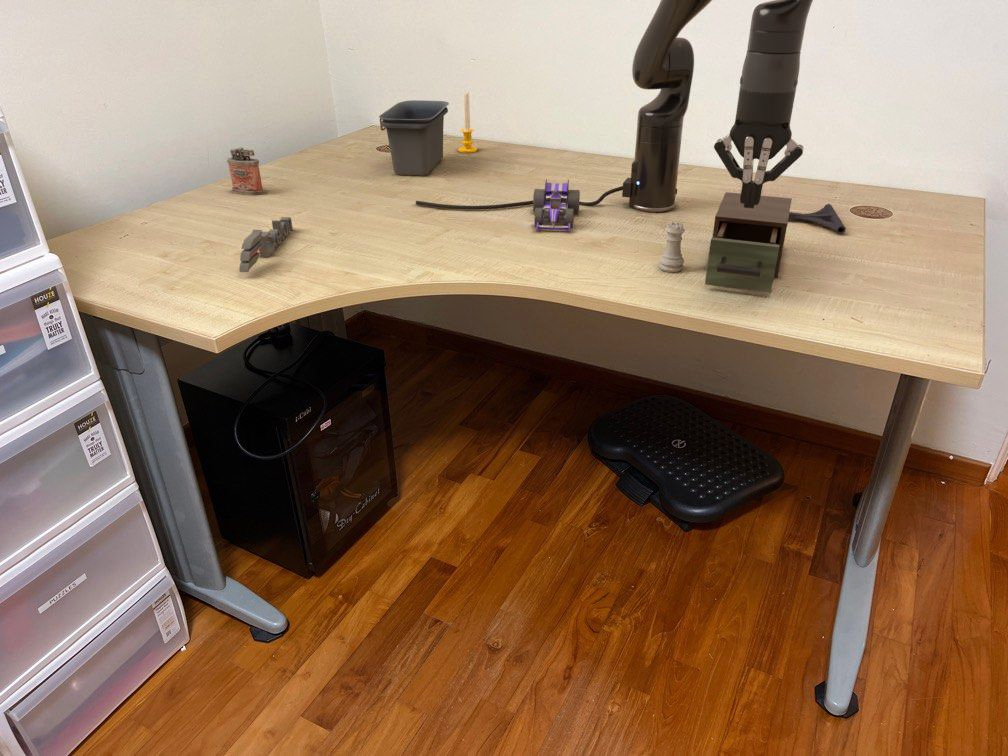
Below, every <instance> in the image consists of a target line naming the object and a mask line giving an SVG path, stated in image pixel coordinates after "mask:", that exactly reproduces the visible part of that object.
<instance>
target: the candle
mask: <svg viewBox="0 0 1008 756" xmlns="http://www.w3.org/2000/svg"><path fill="white" fill-rule="evenodd" d="M462 97H463V98H462V107H463V128H462V129H460V130H459V132H461V133H462V134H463V136H462V138H463V140H461V144H462V145H463V146H461V147H458V153H461V154H472V153H476V152H478V148H477V147H476V146H472V145H473V144H474V140H472V138H473V137H472V133H474V132H475V129H473V128H471V116H470V115H471V114H470V112H471V111H470V94H469V92H467V91H465V92H464V93H463V94H462Z"/></svg>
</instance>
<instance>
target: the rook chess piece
mask: <svg viewBox="0 0 1008 756" xmlns="http://www.w3.org/2000/svg"><path fill="white" fill-rule="evenodd" d="M664 230H665V232H666V234H667V235H666V237H665V240H666V243H665V246H664V251H663V252H662V253H661V256H660V257H659V258H658V262H659V263H658V265H657V266H658V268H659V269H660V270H661V271H663V272H666V273H679V272H681V271H682V270H683V269H684V268H685V265H684V263H685V259H684V257H683V254H682V248H681V247H682V246H681V245H682V240H683V237H682V235H683V234H684V232H685V231H686V230H685V228H684V224H683V223H682V222H681V223H680V222H678V221H676V222H674V221H671V222H668V223H667V226H666V227H665V229H664Z"/></svg>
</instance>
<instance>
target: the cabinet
mask: <svg viewBox="0 0 1008 756" xmlns="http://www.w3.org/2000/svg"><path fill="white" fill-rule="evenodd" d="M740 197H741V192H740V193H739V192H729V191H725V193H724V194H723V197H722V199H721V202H720V204H719V207H718V209H717V212H716V213H715V215H714V216H715V217H714V224H713V231H712V237H714V238H717V235H718V233H719V230H720V228H721V225H722V223H723V222H733V223H742V224H752V225H761V226H771V227H779V228H778V233H777V239H776V244H777V245H779V251H778V256H777V262H776V267H775V273H774V278H775V279H778V277H779V272H780V266H781V260H782V255H783V252H784V251H783V250H784V245H785V239H786V234H787V228H788V223H789V221H788V218H789V212H791V207H792V200H793V198H791V197H781V196H771V195H762V194H761V198H760V202H759V204H758V205H754V209H753V208H744V204H742V203H741V202H740Z"/></svg>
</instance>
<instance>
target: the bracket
mask: <svg viewBox="0 0 1008 756" xmlns="http://www.w3.org/2000/svg"><path fill="white" fill-rule="evenodd" d="M788 222H795V223H815V224H819V225H822V226H824V227H827V228H828V229H830V230H833V231H835V232H836V233H837V234H838V235H844V233H846V227H845V225H844V224H843V222H842V220H841V219H840V217H839V215H838V213H837V212H836V211H835V209H834V207H833V206H832V204H830V203H827V204H825V205H824V206H823V207H822V208H821V209H819V210H817V211H813V212H811V213H810V212H809V213H801V212H800V213H799V212H794V211H790V212H789V218H788Z"/></svg>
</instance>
